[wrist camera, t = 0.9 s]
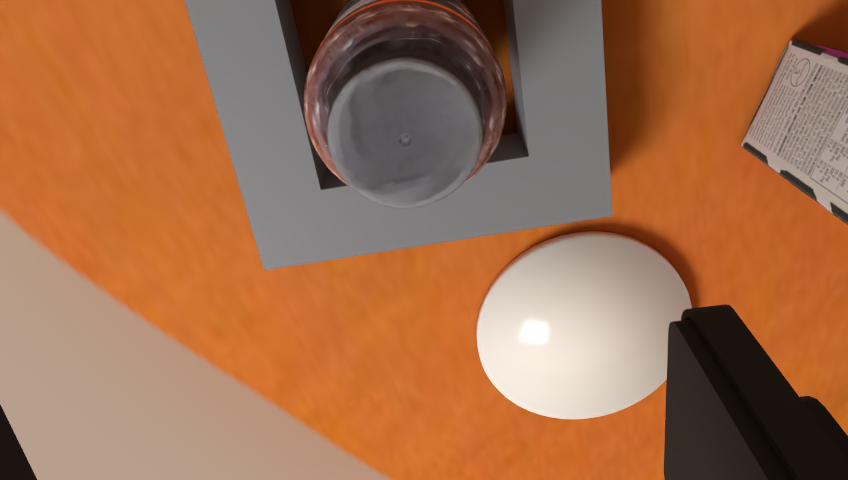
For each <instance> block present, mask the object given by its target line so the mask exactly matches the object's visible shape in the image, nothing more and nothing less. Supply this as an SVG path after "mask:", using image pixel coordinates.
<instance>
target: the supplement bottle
mask: <svg viewBox="0 0 848 480" xmlns="http://www.w3.org/2000/svg"><path fill="white" fill-rule="evenodd" d="M506 101H507V95H506V88H505V81H504V76H503V72H502V69H501V67H500V64H499V62H498V59H497V57H496V55H495V53H494V51H493V48H492V46H491V45H490V43H489V41H488V40H487V38H486V36H485V34H484V33H483V31H482V29H481V28H480V26H479V24H478V22H477V20H476V18H475V17H474V15H473V14H472V12H471V10H470V8H469V7H468V6H467V5H466V4H465V3H464V2H463V1H462V0H349V1H348V2H347V4H346V5H345V6H344V7H343V9H342V10H341V12H340V13H339V15H338V16H337V18H336V20H335V21H334V23H333V25H332V26H331V28H330V29H329V31H328V33H327V35H326V37H325V38H324V40H323V41H322V42H321V44H320V46H319V48H318V50H317V52H316V54H315V56H314V58H313V60H312V63H311V65H310V68H309V71H308V74H307V78H306V83H305V89H304V114H305V121H306V125H307V130H308V133H309V136H310V139H311V141H312V143H313V145H314V147H315V149H316V151H317V153H318V154H319V156H320V158H321V159H322V160H323V162H324V163H325V165H326V166H327V167H328V168H329V170H330V171H331V172H332V173H334V174H335V175H336V176H337V177H338V178H339V179H340V180H341V181H342V182H344V183H345V184H347V185H348V186H350V187H351V188H352V189H353V190H355V191H356V192H357V193H358V194H360V195H361V196H363V197H364V198H367V199H369V200H371V201H373V202H375V203H378V204H380V205H383V206H387V207H393V208H404V209H405V208H418V207H422V206H426V205H430V204H432V203H435V202H438V201H440V200H442V199H444V198H446V197H447V196H448V195H450V194H452V193H453V192H454V191H455V190H457V189H458V188H460V187H461V186H462V185H464V184H465V183H467V182H468V181H469V180H470V179H471V178H473V177H474V176H475V175H476V174H477V173H478V172H479V171H480V170H481V169H482V167H483V166H484V165H485V164H486V163H487V161H488V160H489V159H490V157H491V155H492V154H493V152H494V150H495V149H496V147H497V145H498V143H499V140H500V138H501V135H502V131H503V126H504V122H505V117H506V112H507V110H506V108H507V105H506Z"/></svg>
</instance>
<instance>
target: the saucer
mask: <svg viewBox="0 0 848 480" xmlns="http://www.w3.org/2000/svg"><path fill="white" fill-rule="evenodd" d="M691 308H692V305H691V301H690V297H689V294H688V291H687V289H686V287H685V284H684V282H683V281H682V279H681V278H680V276H679V275H678V273H677V272H676V270H675V269H674V267H673V266H672V265H671V264H670V263H669V262H668V261H667V259H666V258H665V257H664V256H662V255H661V254H660V253H659V252H657V251H656V250H655V249H653V248H652V247H650V246H648V245H647V244H645V243H643V242H641V241H639V240H636V239H634V238H632V237H628V236H625V235H621V234H617V233H610V232H599V231H587V232H577V233H571V234H566V235H561V236H558V237H555V238H552V239H549V240H546V241H544V242H542V243H540V244H537V245H535V246H533V247H531V248H530V249H528V250H527V251H525V252H523V253H522V254H520V255H519V256H518V257H516V258H515V259H514V260H513V261H511V262H510V263H509V264H508V265H507V266H506V267H505V268H504V269H503V270H502V271H501V272H500V273H499V274H498V275H497V277H496V278H495V279H494V281H493V282H492V283H491V285H490V287H489V288H488V290H487V292H486V294H485V295H484V298H483V300H482V303H481V306H480V309H479V313H478V317H477V325H476V337H477V346H478V352H479V356H480V360H481V363H482V365H483V368H484V370H485V372H486V374H487V376H488V377H489V379H490V381H491V382H492V383H493V384H494V386H495V387H496V388H497V389H498V390H499V391H500V392H501V393H502V394H503V395H504V396H505V397H506V398H508V399H509V400H511V401H512V402H514V403H515V404H516V405H518V406H520V407H522V408H524V409H526V410H528V411H531V412H534V413H537V414H539V415H544V416H548V417H552V418H561V419H585V418H593V417H598V416H603V415H607V414H610V413H614V412H617V411H619V410H622V409H624V408H627V407H629V406H631V405H633V404H635V403H637V402H638V401H640V400H642V399H643V398H645V397H646V396H648V395H649V394H651V393H652V392H653V391H654V390H656V389H657V388H658V387H659V386H660V385H661V384H663V382H664V381H665V380H666V379H667V354H668V329H669V324H670V323H671V322H672V321H681V316H682V313H683V311H684V310H685V309H691Z"/></svg>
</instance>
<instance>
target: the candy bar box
mask: <svg viewBox="0 0 848 480" xmlns="http://www.w3.org/2000/svg"><path fill="white" fill-rule="evenodd" d="M741 146H742V147H743V148H744V149H746V150H747V151H749V152H750V153H751V154H753V155H754V156H756V157H757V158H758V159H760V160H761V161H762V162H764V163H765V164H766V165H767V166H769V167H770V168H771V169H773V170H774V171H775V172H777V173H778V174H779V175H781V176H782V177H783V178H785V179H786V180H788V181H789V182H790V183H791V184H793V185H794V186H795V187H797V188H798V189H800V190H801V191H802V192H804V193H805V194H807V195H808V196H809V197H811V198H812V199H813V200H815V201H816V202H818V203H819V204H820V205H822V206H823V207H824V208H826V209H827V210H828V211H829V212H831V213H832V214H834V215H835V216H836V217H838V218H839V219H840V220H842V221H843V222H845V223H846V224H848V52H844V51H840V50H836V49H832V48H827V47H823V46H819V45H815V44H811V43H807V42H803V41H799V40H795V39H792V40H790V41H789V43H788V45H787V47H786V49H785V50H784V52H783V54H782V56H781V58H780V60H779V62H778V64H777V67H776V69H775V72H774V74H773V77H772V80H771V82H770V85H769V87H768V89H767V91H766V94H765V96H764V98H763V100H762V102H761V104H760V105H759V107H758V109H757V111H756V113H755V116H754V118H753V120H752V122H751V124H750V126H749V128H748V131H747V133H746V135H745V137H744V139H743V141H742V144H741Z"/></svg>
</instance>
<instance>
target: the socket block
mask: <svg viewBox="0 0 848 480" xmlns="http://www.w3.org/2000/svg"><path fill="white" fill-rule="evenodd" d="M503 1H504V10H505V19H506V29H507V38H508V47H509V56H510V65H511V75H512V84H513V93H514V102H515V111H516V121H517V130H518V133H512V134H505V135H501V138H500V140H499V143H498V145H497V147H496V149H495V150H494V152H493V154H492V155H491V157H490V159H489V160H488V161H487V163H486V164H485V165H484V166H483V167H482V169H481V170H480V171H479V172H478V173H477V174H476V175H475V176H474V177H473V178H471V179H470V180H469V181H468V182H467V183H465V184H464V185H462V186H461V187H460V188H458V189H457V190H455V191H454V192H453V193H452V194H450V195H448V196H447V197H446V198H444V199H442V200H440V201H438V202H435V203H432V204H430V205H426V206H422V207H418V208H405V209H404V208H393V207H387V206H383V205H380V204H378V203H375V202H373V201H371V200H369V199H367V198H364V197H363V196H361V195H360V194H358V193H357V192H356V191H355V190H353V189H352V188H351V187H350V186H348V185H347V184H345V183H344V182H342V181H341V180H340V179H339V178H338V177H337V176H336V175H335V174H334V173H332V172H331V171H330V170H329V168H328V167H327V166H326V165H325V163H324V162H323V160H322V159H321V158H320V156H319V154H318V153H317V151H316V149H315V147H314V145H313V143H312V141H311V139H310V136H309V133H308V130H307V125H306V121H305V114H304V89H305V83H306V78H307V70H306V66H305V62H304V57H303V53H302V49H301V44H300V40H299V36H298V32H297V27H296V23H295V19H294V14H293V10H292V6H291V2H290V0H185V3H186V7H187V10H188V14H189V17H190V20H191V24H192V27H193V31H194V34H195V37H196V41H197V44H198V48H199V51H200V54H201V58H202V61H203V65H204V68H205V71H206V75H207V78H208V82H209V85H210V88H211V92H212V95H213V99H214V102H215V105H216V109H217V112H218V116H219V119H220V122H221V126H222V129H223V132H224V136H225V139H226V143H227V146H228V149H229V153H230V156H231V160H232V163H233V166H234V170H235V173H236V177H237V180H238V183H239V187H240V190H241V194H242V197H243V200H244V204H245V207H246V211H247V214H248V217H249V221H250V224H251V228H252V231H253V234H254V238H255V241H256V245H257V248H258V251H259V255H260V258H261V262H262V265H263V268H264V270H269V269H276V268H282V267H288V266H295V265H301V264H308V263H314V262H320V261H327V260H333V259H340V258H346V257H353V256H359V255H365V254H372V253H378V252H385V251H391V250H397V249H404V248H410V247H417V246H423V245H429V244H436V243H442V242H449V241H455V240H462V239H468V238H474V237H481V236H487V235H494V234H500V233H506V232H513V231H519V230H526V229H532V228H539V227H545V226H551V225H558V224H564V223H571V222H577V221H583V220H590V219H596V218H603V217H609V216H612V198H611V179H610V160H609V140H608V121H607V102H606V83H605V63H604V44H603V25H602V5H601V0H503Z"/></svg>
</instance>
